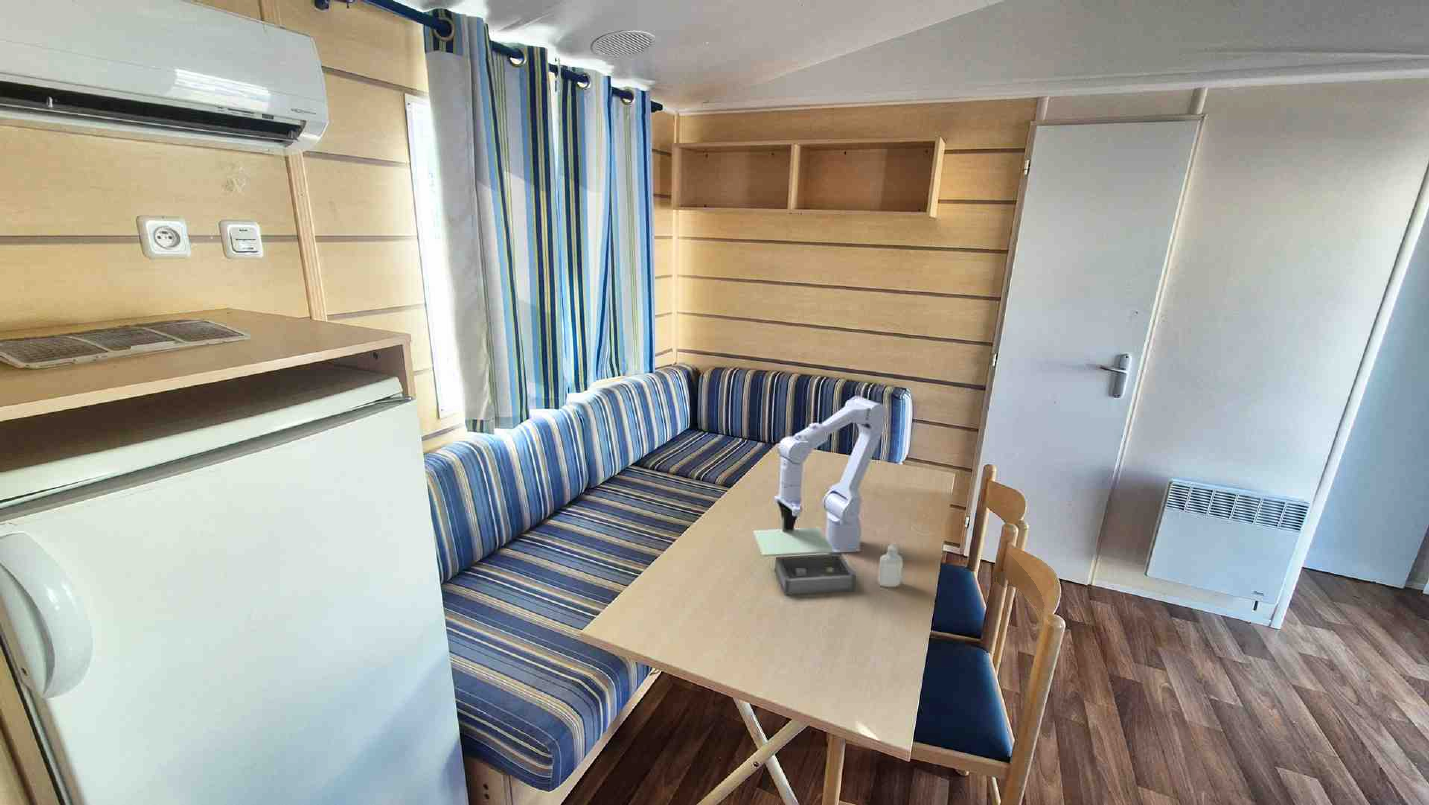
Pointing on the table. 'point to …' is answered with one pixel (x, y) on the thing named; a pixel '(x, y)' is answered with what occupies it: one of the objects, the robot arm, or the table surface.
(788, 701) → the table surface
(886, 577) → the eye dropper bottle
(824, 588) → the parts tub
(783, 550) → the tub lid
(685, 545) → the table surface
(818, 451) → the table surface
